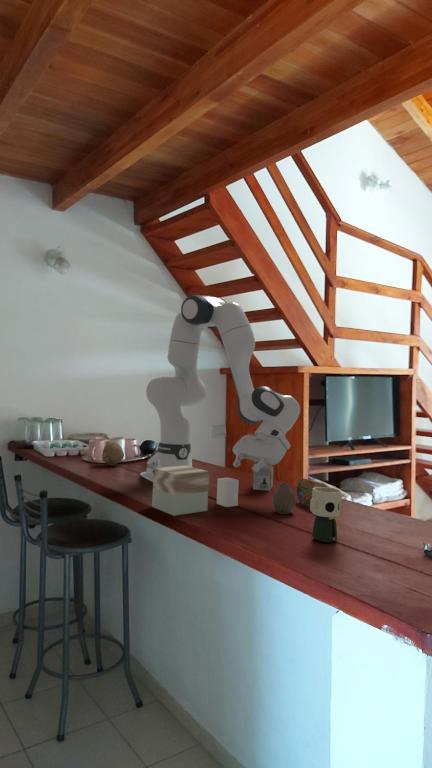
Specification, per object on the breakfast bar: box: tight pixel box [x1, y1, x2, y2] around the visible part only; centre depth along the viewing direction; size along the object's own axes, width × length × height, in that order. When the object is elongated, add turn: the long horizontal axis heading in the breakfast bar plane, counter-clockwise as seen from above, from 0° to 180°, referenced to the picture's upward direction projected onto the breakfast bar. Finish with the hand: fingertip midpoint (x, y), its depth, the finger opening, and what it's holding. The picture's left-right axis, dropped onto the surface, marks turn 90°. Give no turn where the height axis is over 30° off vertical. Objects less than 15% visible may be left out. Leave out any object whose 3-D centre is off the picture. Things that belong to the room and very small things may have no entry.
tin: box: [296, 478, 328, 508], centre depth 177 cm, size 15×3×8 cm, turn 24°
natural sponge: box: [101, 441, 125, 467], centre depth 237 cm, size 9×9×10 cm
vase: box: [271, 482, 296, 515], centre depth 168 cm, size 7×7×9 cm
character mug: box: [309, 486, 343, 543], centre depth 141 cm, size 11×7×13 cm, turn 126°
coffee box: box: [252, 460, 274, 492], centre depth 203 cm, size 9×6×16 cm
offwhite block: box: [216, 477, 240, 508], centre depth 175 cm, size 5×4×8 cm
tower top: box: [152, 465, 210, 496], centre depth 167 cm, size 12×12×6 cm
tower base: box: [151, 487, 209, 517], centre depth 168 cm, size 12×12×6 cm
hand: (244, 468), depth 179 cm, fingers open, 8 cm apart
